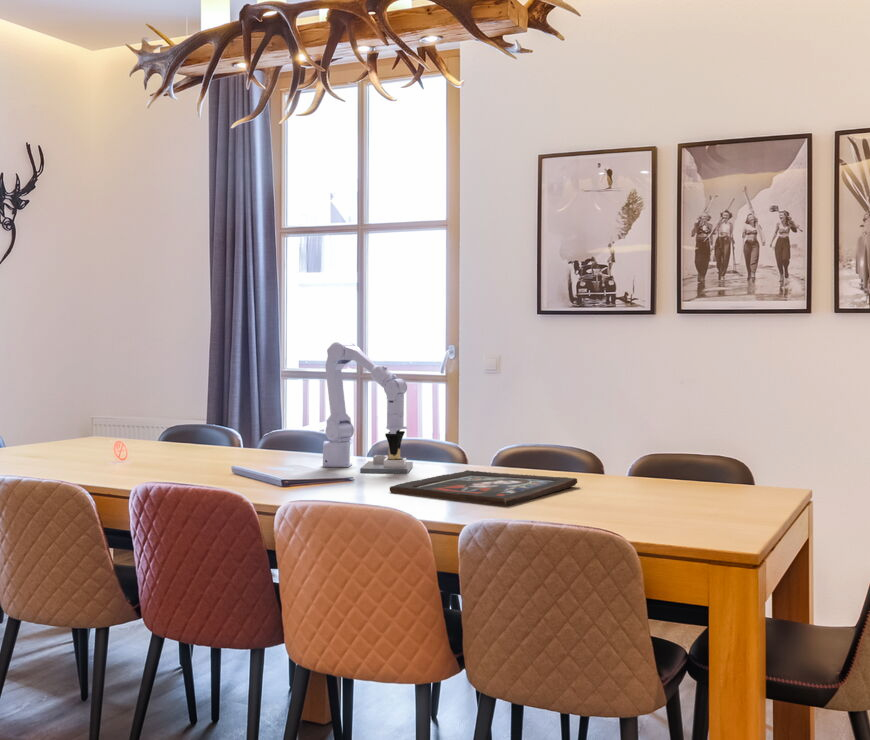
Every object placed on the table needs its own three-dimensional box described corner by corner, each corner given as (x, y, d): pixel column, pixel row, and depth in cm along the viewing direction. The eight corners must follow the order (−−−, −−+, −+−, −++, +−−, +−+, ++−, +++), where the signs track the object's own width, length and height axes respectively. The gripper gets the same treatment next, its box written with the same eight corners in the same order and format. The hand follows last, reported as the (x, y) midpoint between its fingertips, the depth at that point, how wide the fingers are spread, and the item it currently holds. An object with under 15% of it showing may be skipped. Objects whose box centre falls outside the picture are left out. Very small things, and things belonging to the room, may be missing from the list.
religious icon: (580, 486, 266) (580, 476, 266) (508, 509, 229) (508, 497, 229) (468, 477, 289) (468, 467, 289) (386, 496, 251) (386, 485, 251)
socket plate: (360, 472, 293) (360, 460, 293) (368, 465, 313) (368, 454, 313) (407, 473, 292) (407, 461, 292) (412, 466, 312) (412, 454, 312)
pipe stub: (388, 466, 298) (388, 449, 298) (388, 465, 302) (388, 448, 302) (400, 466, 298) (400, 449, 298) (400, 465, 302) (400, 448, 302)
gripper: (404, 415, 292) (404, 455, 292) (408, 412, 306) (408, 451, 307) (384, 415, 292) (383, 455, 293) (389, 412, 307) (388, 450, 307)
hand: (394, 453), depth 300 cm, fingers open, 7 cm apart
